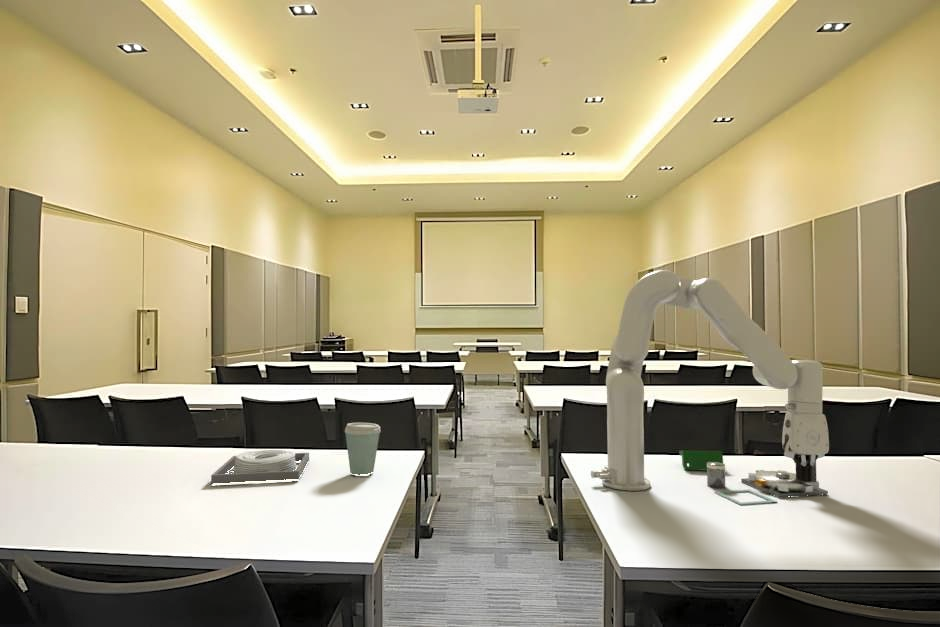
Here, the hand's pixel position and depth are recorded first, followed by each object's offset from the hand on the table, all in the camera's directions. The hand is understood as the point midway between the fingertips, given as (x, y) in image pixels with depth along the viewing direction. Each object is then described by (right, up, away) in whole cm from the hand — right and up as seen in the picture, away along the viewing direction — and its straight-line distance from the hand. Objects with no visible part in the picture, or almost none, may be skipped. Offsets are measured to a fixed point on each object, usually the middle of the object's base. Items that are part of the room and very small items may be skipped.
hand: (803, 480), depth 137 cm
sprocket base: (-3, -4, +5) cm, 7 cm away
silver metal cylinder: (-19, -4, +7) cm, 21 cm away
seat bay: (-16, -4, -3) cm, 17 cm away
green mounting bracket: (-15, -5, +26) cm, 30 cm away
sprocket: (-3, -2, +5) cm, 6 cm away
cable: (-146, -5, +23) cm, 148 cm away
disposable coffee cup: (-117, -5, +21) cm, 119 cm away
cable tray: (-147, -5, +23) cm, 148 cm away
